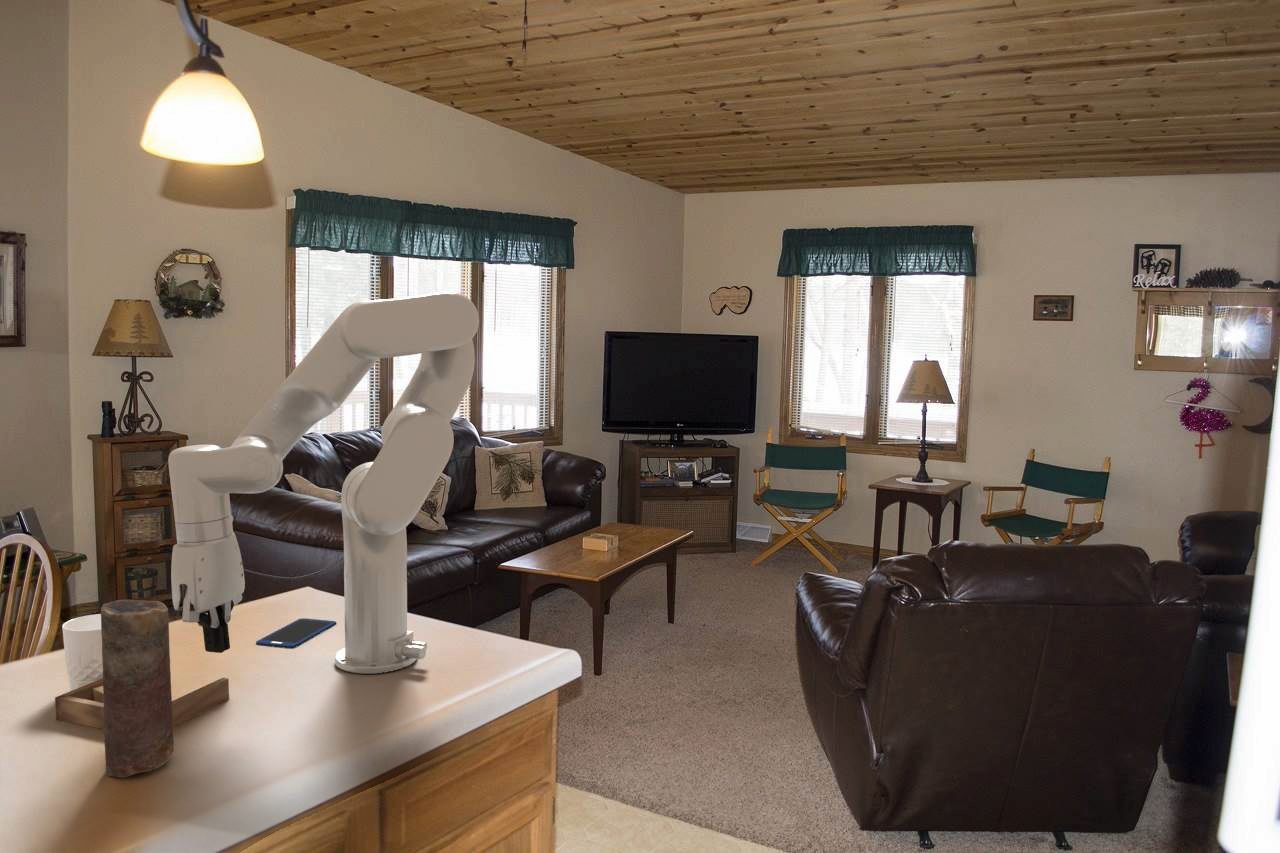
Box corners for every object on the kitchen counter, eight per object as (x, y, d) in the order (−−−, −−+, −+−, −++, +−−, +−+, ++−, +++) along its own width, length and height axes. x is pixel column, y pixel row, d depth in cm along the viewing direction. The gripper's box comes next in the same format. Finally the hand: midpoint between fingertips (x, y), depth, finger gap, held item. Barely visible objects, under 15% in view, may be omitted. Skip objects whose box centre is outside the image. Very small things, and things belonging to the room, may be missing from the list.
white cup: (100, 702, 135) (97, 632, 134) (51, 696, 136) (48, 628, 135) (140, 681, 142) (137, 616, 141) (93, 676, 144) (91, 611, 143)
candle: (123, 751, 120) (117, 594, 118) (184, 750, 120) (179, 594, 118) (93, 781, 112) (86, 613, 110) (159, 780, 113) (153, 613, 111)
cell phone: (253, 646, 159) (253, 642, 159) (301, 621, 173) (301, 617, 173) (293, 650, 158) (293, 646, 158) (338, 625, 171) (338, 620, 171)
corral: (229, 699, 137) (228, 678, 136) (149, 738, 124) (148, 716, 123) (141, 682, 142) (141, 663, 142) (56, 719, 129) (55, 697, 128)
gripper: (221, 517, 149) (233, 631, 151) (143, 542, 135) (158, 667, 137) (261, 518, 146) (272, 634, 149) (185, 544, 132) (200, 671, 135)
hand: (217, 650), depth 143 cm, fingers closed
